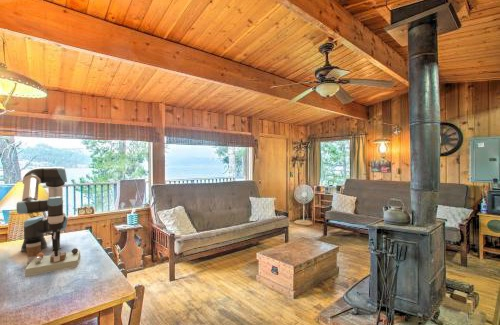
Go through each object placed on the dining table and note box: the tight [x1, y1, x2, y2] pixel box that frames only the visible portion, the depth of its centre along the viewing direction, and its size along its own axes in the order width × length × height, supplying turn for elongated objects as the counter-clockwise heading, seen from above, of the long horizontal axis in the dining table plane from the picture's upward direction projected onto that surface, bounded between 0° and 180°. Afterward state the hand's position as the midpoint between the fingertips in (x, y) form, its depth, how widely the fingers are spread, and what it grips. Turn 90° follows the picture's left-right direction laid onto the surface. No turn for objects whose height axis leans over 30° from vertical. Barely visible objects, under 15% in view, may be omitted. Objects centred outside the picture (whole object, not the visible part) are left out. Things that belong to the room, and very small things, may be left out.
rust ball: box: [37, 252, 45, 258], centre depth 166 cm, size 4×4×4 cm
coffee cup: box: [25, 237, 42, 263], centre depth 173 cm, size 8×8×15 cm
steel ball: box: [34, 257, 42, 263], centre depth 158 cm, size 4×4×4 cm
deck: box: [24, 250, 81, 277], centre depth 164 cm, size 20×25×4 cm
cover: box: [50, 251, 67, 262], centre depth 163 cm, size 7×7×4 cm
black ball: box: [71, 247, 79, 254], centre depth 173 cm, size 4×4×4 cm
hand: (56, 260), depth 158 cm, fingers closed
